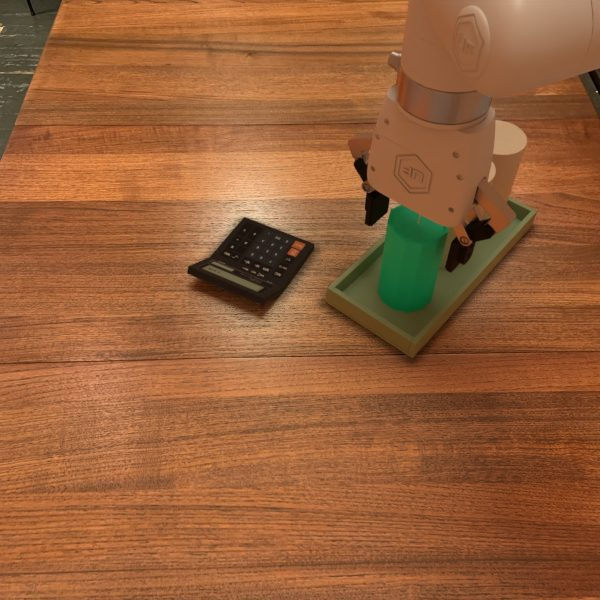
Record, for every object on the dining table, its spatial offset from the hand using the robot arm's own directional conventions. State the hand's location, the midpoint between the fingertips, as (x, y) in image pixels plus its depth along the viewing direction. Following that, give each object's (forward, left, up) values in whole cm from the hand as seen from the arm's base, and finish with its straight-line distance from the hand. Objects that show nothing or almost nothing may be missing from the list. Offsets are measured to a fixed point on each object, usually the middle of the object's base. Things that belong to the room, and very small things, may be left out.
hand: (414, 240), depth 65 cm
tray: (0, -6, -8) cm, 10 cm away
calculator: (+15, +8, -8) cm, 19 cm away
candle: (0, 0, -8) cm, 8 cm away
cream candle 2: (0, -15, -8) cm, 16 cm away
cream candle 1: (0, -8, -8) cm, 11 cm away
